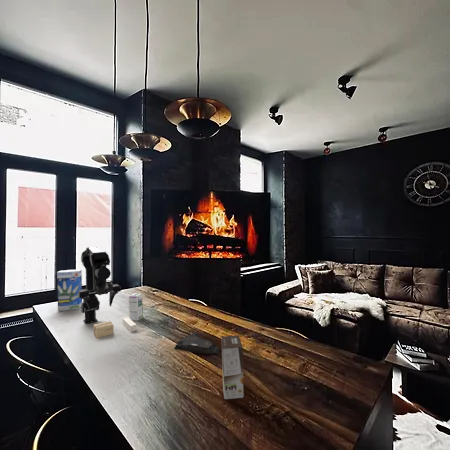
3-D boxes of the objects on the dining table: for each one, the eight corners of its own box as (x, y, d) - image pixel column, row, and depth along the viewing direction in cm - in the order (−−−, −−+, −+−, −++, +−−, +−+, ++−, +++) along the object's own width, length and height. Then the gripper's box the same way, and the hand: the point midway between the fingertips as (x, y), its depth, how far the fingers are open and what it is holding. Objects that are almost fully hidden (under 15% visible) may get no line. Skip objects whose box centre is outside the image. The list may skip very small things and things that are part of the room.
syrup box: (138, 320, 149) (137, 295, 149) (129, 320, 151) (128, 295, 151) (143, 317, 155) (142, 293, 155) (134, 316, 156) (133, 292, 156)
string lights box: (57, 311, 170) (56, 272, 170) (61, 307, 178) (60, 270, 178) (79, 309, 174) (78, 270, 173) (82, 305, 181) (81, 268, 181)
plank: (122, 323, 145) (122, 318, 145) (128, 322, 147) (128, 317, 147) (130, 331, 134) (130, 326, 134) (136, 330, 136) (136, 324, 136)
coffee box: (244, 398, 81) (243, 347, 81) (224, 399, 81) (222, 348, 81) (240, 380, 90) (239, 334, 90) (222, 381, 90) (220, 335, 90)
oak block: (93, 334, 133) (93, 324, 133) (110, 330, 138) (110, 320, 138) (96, 338, 128) (96, 328, 128) (113, 333, 133) (113, 324, 133)
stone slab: (229, 352, 115) (229, 342, 114) (202, 370, 102) (202, 358, 102) (195, 334, 130) (196, 325, 129) (168, 347, 118) (168, 337, 117)
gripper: (80, 282, 116) (81, 317, 116) (123, 276, 127) (124, 308, 127) (77, 278, 125) (78, 310, 125) (117, 273, 136) (118, 302, 136)
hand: (100, 308), depth 128 cm, fingers open, 9 cm apart
